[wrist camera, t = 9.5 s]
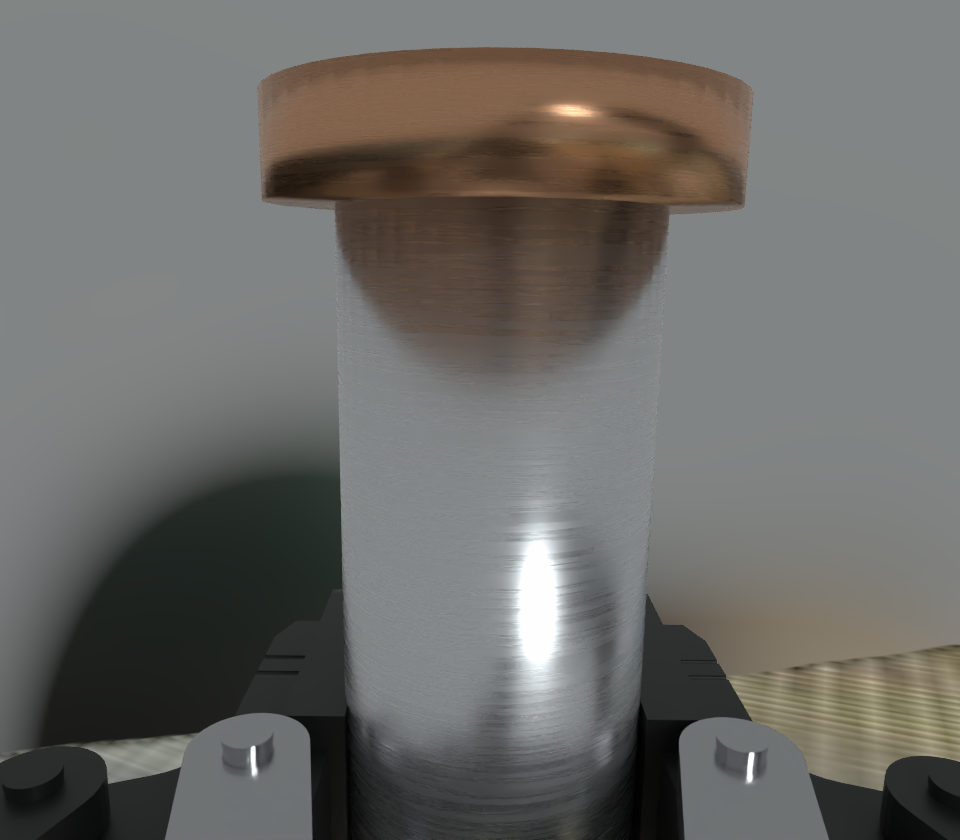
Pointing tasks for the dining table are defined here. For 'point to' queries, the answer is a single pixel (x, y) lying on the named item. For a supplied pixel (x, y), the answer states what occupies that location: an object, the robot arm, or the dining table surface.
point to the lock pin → (498, 409)
